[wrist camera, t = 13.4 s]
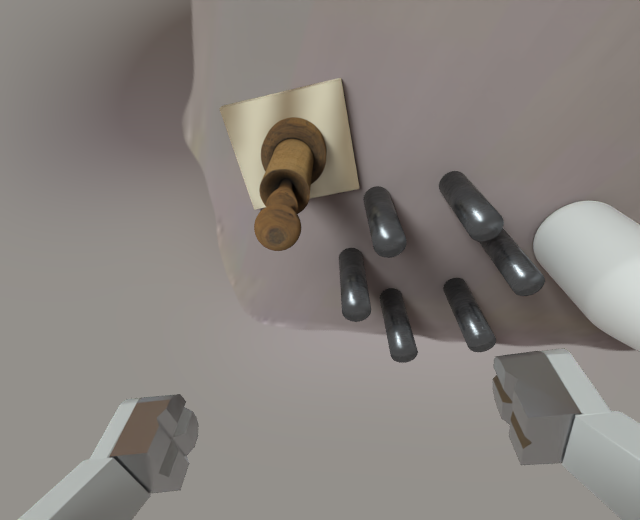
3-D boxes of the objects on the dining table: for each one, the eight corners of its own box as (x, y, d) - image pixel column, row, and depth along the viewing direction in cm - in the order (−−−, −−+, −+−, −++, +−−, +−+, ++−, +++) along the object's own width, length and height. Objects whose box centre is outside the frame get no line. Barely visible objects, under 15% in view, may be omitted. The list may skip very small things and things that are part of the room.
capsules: (507, 160, 39) (556, 198, 31) (499, 288, 49) (535, 344, 40) (324, 196, 42) (324, 241, 33) (350, 311, 51) (355, 369, 43)
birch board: (340, 77, 35) (341, 79, 34) (358, 184, 41) (359, 188, 40) (222, 105, 37) (219, 108, 36) (256, 205, 42) (254, 209, 41)
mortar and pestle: (260, 117, 36) (213, 188, 21) (326, 116, 36) (327, 186, 21) (267, 182, 40) (231, 281, 25) (327, 180, 39) (328, 280, 24)
